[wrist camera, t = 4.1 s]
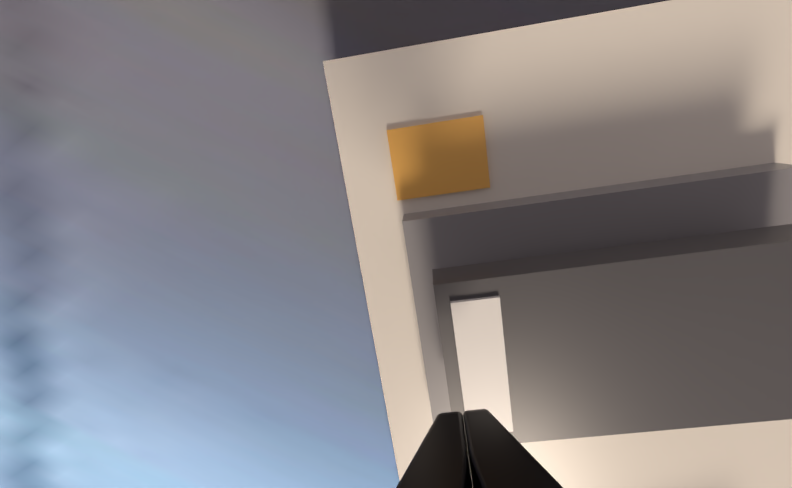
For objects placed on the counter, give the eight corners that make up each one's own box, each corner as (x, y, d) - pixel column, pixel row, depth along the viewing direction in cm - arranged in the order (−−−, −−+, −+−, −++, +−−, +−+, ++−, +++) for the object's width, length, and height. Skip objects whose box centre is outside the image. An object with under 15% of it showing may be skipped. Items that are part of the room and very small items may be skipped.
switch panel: (826, -15, 12) (951, -57, 9) (768, 671, 18) (831, 771, 15) (337, 69, 13) (314, 56, 10) (445, 682, 19) (449, 777, 17)
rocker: (812, 221, 9) (861, 233, 8) (797, 387, 10) (840, 418, 9) (432, 269, 10) (432, 286, 9) (453, 420, 11) (456, 451, 10)
